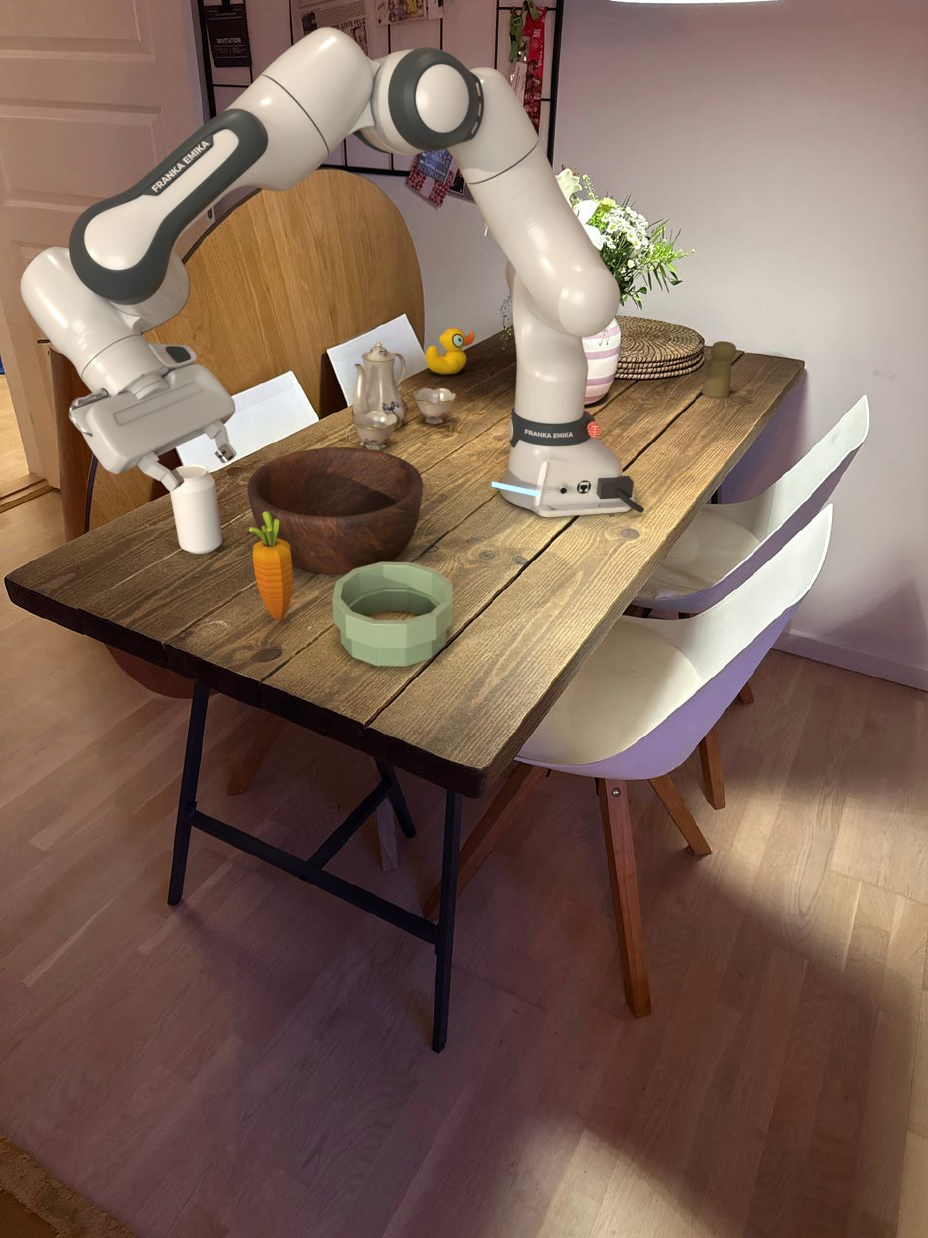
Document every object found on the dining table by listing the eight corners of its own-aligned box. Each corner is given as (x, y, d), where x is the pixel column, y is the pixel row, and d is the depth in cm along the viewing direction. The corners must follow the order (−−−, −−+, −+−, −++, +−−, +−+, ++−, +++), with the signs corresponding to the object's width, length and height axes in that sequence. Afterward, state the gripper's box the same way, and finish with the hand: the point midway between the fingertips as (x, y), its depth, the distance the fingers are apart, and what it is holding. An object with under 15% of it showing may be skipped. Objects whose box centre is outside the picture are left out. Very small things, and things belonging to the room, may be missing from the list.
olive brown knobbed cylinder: (700, 387, 195) (709, 337, 189) (727, 389, 194) (737, 339, 188) (702, 396, 190) (712, 345, 184) (730, 398, 189) (741, 347, 183)
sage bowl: (451, 605, 117) (452, 562, 113) (451, 671, 105) (452, 625, 101) (342, 603, 116) (340, 560, 113) (329, 669, 104) (326, 623, 101)
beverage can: (230, 539, 130) (220, 464, 123) (212, 559, 125) (200, 482, 118) (192, 534, 131) (179, 460, 124) (172, 554, 126) (158, 477, 119)
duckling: (468, 367, 202) (470, 323, 196) (477, 374, 198) (479, 329, 192) (422, 371, 198) (422, 327, 193) (430, 379, 194) (430, 333, 189)
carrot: (290, 633, 110) (279, 528, 102) (253, 628, 111) (239, 523, 103) (304, 612, 114) (294, 509, 106) (268, 607, 115) (256, 505, 107)
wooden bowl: (401, 596, 118) (400, 528, 113) (227, 575, 122) (217, 508, 116) (438, 514, 139) (438, 454, 133) (288, 498, 142) (282, 439, 136)
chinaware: (381, 469, 156) (387, 381, 147) (309, 439, 162) (310, 352, 153) (463, 423, 176) (473, 342, 167) (396, 398, 183) (402, 319, 173)
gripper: (70, 388, 94) (154, 491, 96) (199, 342, 109) (269, 432, 111) (50, 420, 98) (131, 518, 100) (177, 371, 113) (245, 457, 115)
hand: (205, 472), depth 105 cm, fingers open, 8 cm apart
